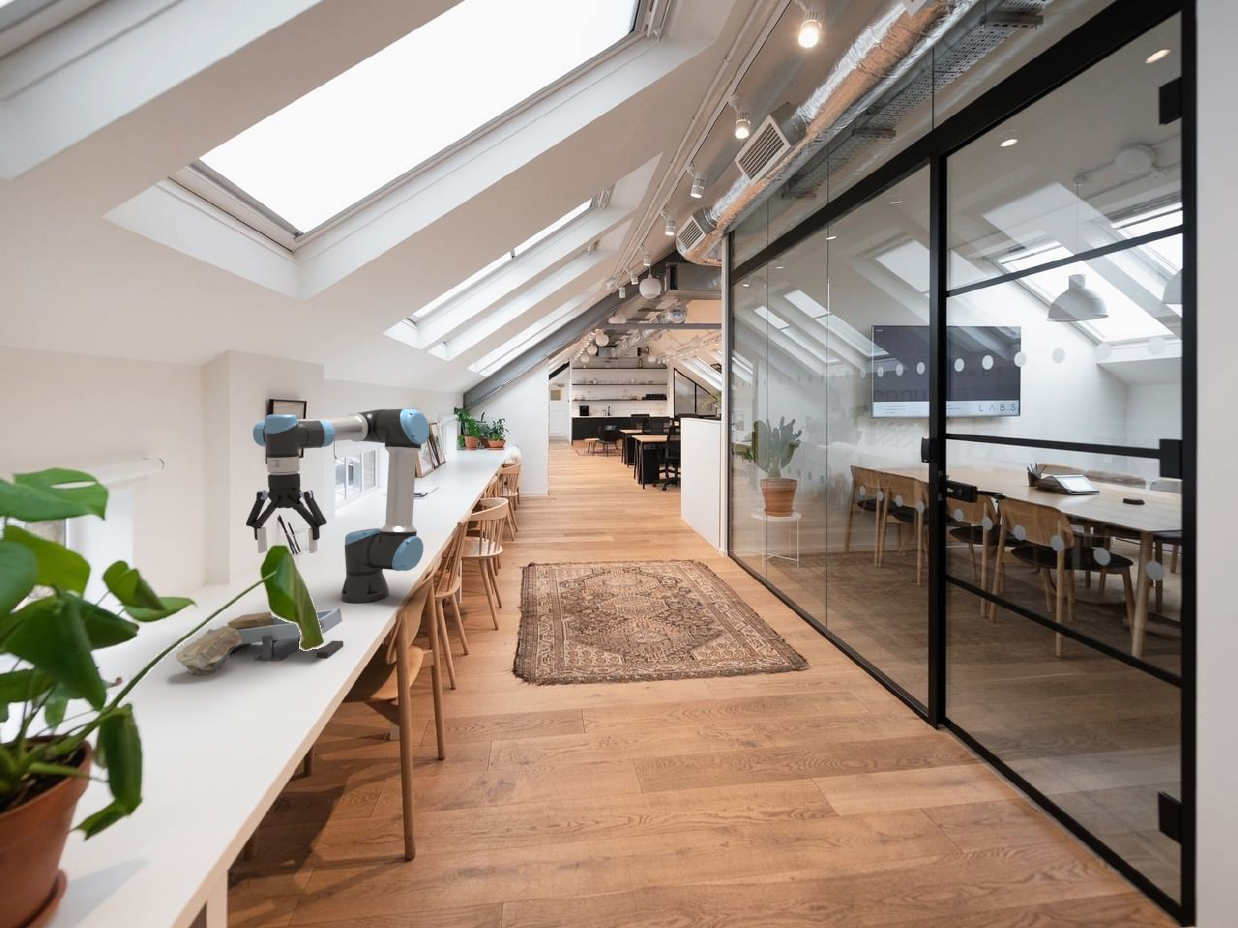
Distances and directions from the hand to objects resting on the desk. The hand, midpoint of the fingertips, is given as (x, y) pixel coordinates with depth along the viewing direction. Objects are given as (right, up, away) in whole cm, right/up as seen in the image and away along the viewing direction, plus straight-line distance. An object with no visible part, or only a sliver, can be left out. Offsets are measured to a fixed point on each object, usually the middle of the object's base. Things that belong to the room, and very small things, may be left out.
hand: (288, 552), depth 165 cm
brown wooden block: (-9, -21, 0) cm, 23 cm away
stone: (-12, -28, -14) cm, 33 cm away
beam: (-1, -21, -1) cm, 21 cm away
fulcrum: (-1, -26, 0) cm, 26 cm away
